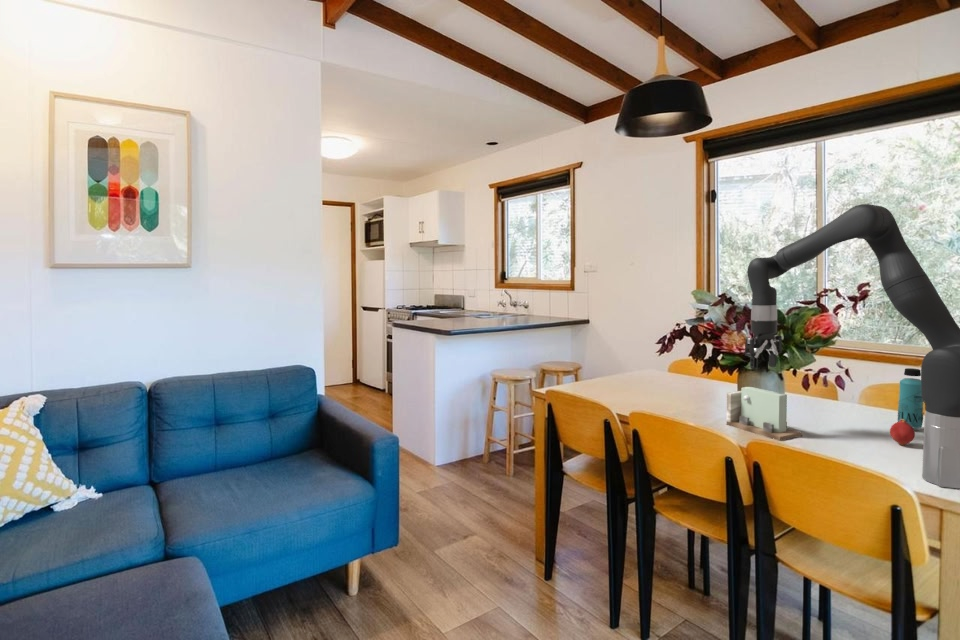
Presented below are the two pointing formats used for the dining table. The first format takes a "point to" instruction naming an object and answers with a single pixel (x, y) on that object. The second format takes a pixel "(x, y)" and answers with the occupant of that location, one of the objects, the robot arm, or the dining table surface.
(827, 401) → the dining table surface
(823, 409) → the dining table surface
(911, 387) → the beverage bottle
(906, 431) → the onion
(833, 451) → the dining table surface
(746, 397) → the door
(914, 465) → the dining table surface
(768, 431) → the cabinet frame
